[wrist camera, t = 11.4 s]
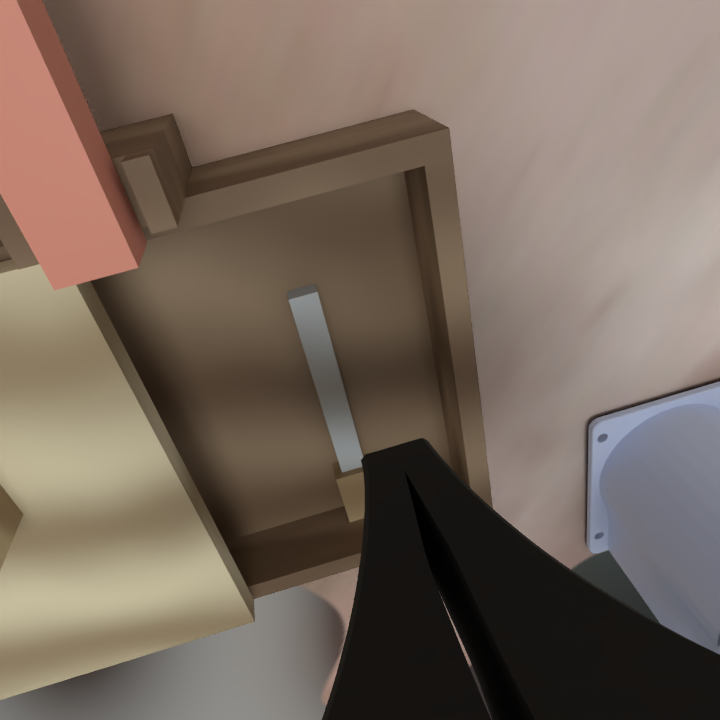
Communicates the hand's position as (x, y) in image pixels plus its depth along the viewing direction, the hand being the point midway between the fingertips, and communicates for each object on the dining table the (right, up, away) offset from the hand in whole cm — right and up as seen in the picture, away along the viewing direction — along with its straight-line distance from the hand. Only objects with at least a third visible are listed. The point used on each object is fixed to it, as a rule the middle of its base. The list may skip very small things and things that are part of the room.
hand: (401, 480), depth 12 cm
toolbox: (-6, +1, +10) cm, 12 cm away
